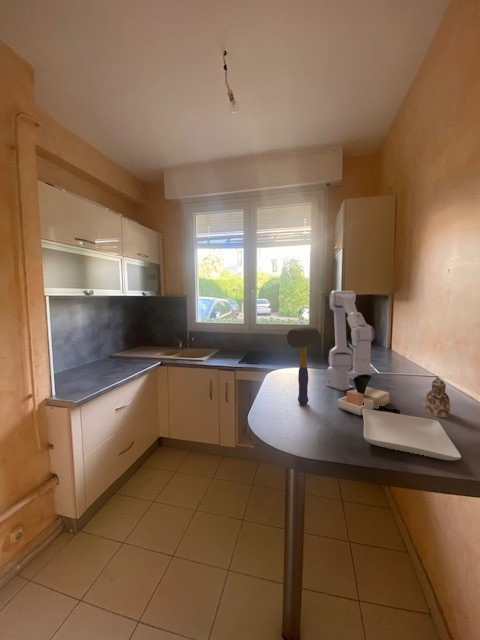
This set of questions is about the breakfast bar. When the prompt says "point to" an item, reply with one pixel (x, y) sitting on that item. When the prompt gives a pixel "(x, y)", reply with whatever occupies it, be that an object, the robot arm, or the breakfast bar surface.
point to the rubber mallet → (303, 355)
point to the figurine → (437, 400)
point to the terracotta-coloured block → (355, 398)
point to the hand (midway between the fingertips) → (360, 393)
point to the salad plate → (408, 434)
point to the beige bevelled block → (376, 396)
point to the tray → (353, 408)
